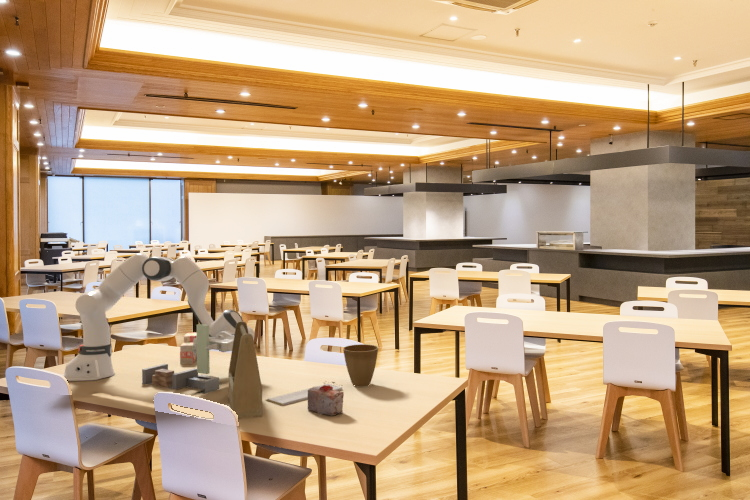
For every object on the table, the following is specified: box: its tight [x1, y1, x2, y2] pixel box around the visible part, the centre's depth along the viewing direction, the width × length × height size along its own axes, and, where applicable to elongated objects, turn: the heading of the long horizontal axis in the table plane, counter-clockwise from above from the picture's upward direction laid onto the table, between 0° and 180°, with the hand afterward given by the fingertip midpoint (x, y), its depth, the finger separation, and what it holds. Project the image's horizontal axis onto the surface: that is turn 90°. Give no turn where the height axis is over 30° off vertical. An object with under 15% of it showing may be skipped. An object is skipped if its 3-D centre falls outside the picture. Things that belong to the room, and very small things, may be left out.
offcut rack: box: [141, 363, 199, 390], centre depth 253 cm, size 20×12×8 cm, turn 61°
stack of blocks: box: [179, 331, 197, 365], centre depth 306 cm, size 21×6×12 cm, turn 7°
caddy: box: [228, 320, 263, 419], centre depth 225 cm, size 29×11×30 cm, turn 17°
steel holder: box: [186, 374, 220, 395], centre depth 248 cm, size 10×8×5 cm
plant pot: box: [342, 344, 379, 387], centre depth 256 cm, size 15×15×16 cm
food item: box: [307, 384, 345, 417], centre depth 218 cm, size 14×8×10 cm, turn 54°
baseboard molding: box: [265, 380, 343, 407], centre depth 241 cm, size 31×3×12 cm
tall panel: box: [196, 323, 211, 375], centre depth 247 cm, size 6×2×20 cm, turn 61°
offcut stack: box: [151, 369, 175, 389], centre depth 250 cm, size 9×5×6 cm, turn 61°
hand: (201, 346), depth 246 cm, fingers closed on tall panel, 5 cm apart
